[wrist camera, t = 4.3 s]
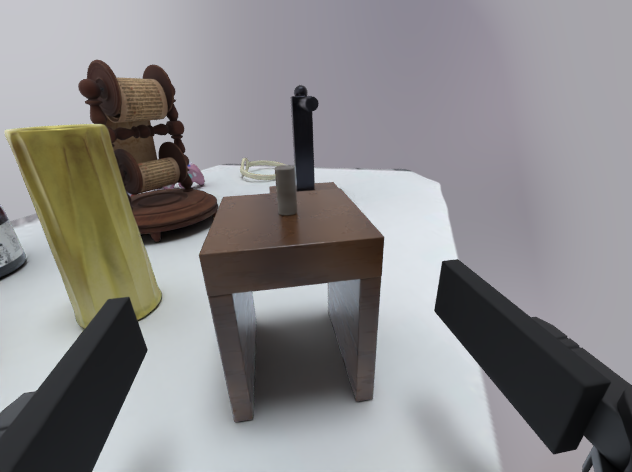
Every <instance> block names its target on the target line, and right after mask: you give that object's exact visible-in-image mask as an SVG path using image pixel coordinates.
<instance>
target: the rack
mask: <svg viewBox="0 0 632 472" xmlns="http://www.w3.org/2000/svg"><path fill="white" fill-rule="evenodd" d="M294 95H295V96H293V97H291V112H292V129H293V146H294V163H295V177H296V192H299V191H313V190H326V189H339V188H338V187H337V186H336V185H335V184H334V182H329V183H315V184H314V153H313V122H312V111H314V110H316V109H317V107H318V100H317V99H316V98H315V97H312V96H307V89H306V88H305V87H304V86H302V85H299V86H297V87H296V88H295V90H294ZM271 193H277V190H276V186H272V187H270V194H271Z"/></svg>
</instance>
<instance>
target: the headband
mask: <svg viewBox="0 0 632 472" xmlns="http://www.w3.org/2000/svg"><path fill="white" fill-rule="evenodd" d="M244 161H246V169H245V170H244ZM257 165H271V166H282V165H285V164H282V163H279V162H273V161H253V162H248V159H247V158H243V159H242V163H241V167H240V172H241V174H242V175H244V176H246V177H248V178H252V179H258V180H276V178H275V175H260V174H253V173H249V172H248V169H249V167H251V166H257Z"/></svg>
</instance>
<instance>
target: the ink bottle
mask: <svg viewBox="0 0 632 472" xmlns="http://www.w3.org/2000/svg"><path fill="white" fill-rule="evenodd" d="M25 259H26V256H25V253H24V251H23V248H22V246H21V244H20V242H19V240H18V237H17V235H16V233H15V231H14V229H13V227H12V225H11V223H10V221H9V219H8V217H7V215H6V213H5V211H4V209H3V207H2V206H1V205H0V277H2V276H4V275H7V274H9V273H11V272H12V271H14V270H16V269H17V268H19V267H20V266H21V265H22V264H23V263H24V261H25Z"/></svg>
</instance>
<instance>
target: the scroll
mask: <svg viewBox="0 0 632 472" xmlns="http://www.w3.org/2000/svg"><path fill="white" fill-rule="evenodd" d="M78 87H79V91H80V93H81V94H82V95H83V96H85V97H86V98H88V100H87V101H85V103H86V104H89V105H90V119H91V121H92V122H93V123H94V124H103V125H105V126H106V127H107V129H108V132H109V135H110V140H111V143H112V147H113V151H114V154H115V157H116V160H117V164H118V167H119V170H120V174H121V177H122V181H123V184H124V188H125V191H126V194H127V197H128V200H129V203H130V206H131V209H132V213H133V216H134V218H135V221H136V224H137V226H138V229H139V232H140V234H149V233H150V235H151V237H152V239H153V240H154V241H155V242H159V241H160V238H161V232H164V231H169V230H174V229H178V228H182V227H185V226H189V225H192V224H195V223H197V222H200V221H202V220H204V219H206V218H208V217H210V216H211V215H212V217H215V215H216V213H217V209H218V204H217V199H216V197H215V196H213V195H211V194H208V193H206V192H204V191H200V190H195V189H193V188H191V186H192V184H193V182H192V179H191V178H190V176H189V174H188V171H189V169H188V167H187V166H188V165H189V159H188V157H187V156H186V155H184V152H185V147H184V145H183V143H182V141H181V138H182V137H183V136H182V135H181V134H183V132H184V126H183V124H182V123H181V122H180V121H177V118H178V112H177V110H176V108H175V106H174V104H173V103H174V102H175V101H176V100H174V95H175V88H174V87H173V85H172V84H171V81H170V79H169V77H168V75H167V73H166V72H165V71H164V70H163V69H162V68H161V67H159V66H157V65H150V66H148V67H147V68H146V69H145V71H144V74H143V79H137V78H136V79H135V78H116V76H115V75H114V73H113V71H112V70H111V69H110V67H109V66H108V65H107V64H106V63H105V62H103V61H101V60H94V61H92V62H91V64H90V65H89V68H88V72H87V79H83V80H81V81H80V83H79V86H78ZM166 116H167V117H168V118H169V119H170V121H168V122H167V123H166V125H164V124H159V125H156V126H154V127H152V126H151V123H150V120H158V119H164V118H165V117H166ZM167 133H169V134H170V135H172V136H171V138H173V139H174V143H172V142H165V143H163V144H162V145H161V146H160V149H159V159H158V160H157V156H156V150H155V146H154V141H153V136H154V134H158V135H166V134H167ZM176 183H180V184H181V185H182V186H183V187H184V189H165V190H157V191H151V192H147V191H150V190H154V189H158V188H162V187H165V186H169V185H173V184H176ZM127 192H128V193H129V194H132V195H133V196H129V194H128V193H127ZM143 192H146V193H143ZM139 193H141V194H139ZM136 194H137V195H136Z"/></svg>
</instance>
